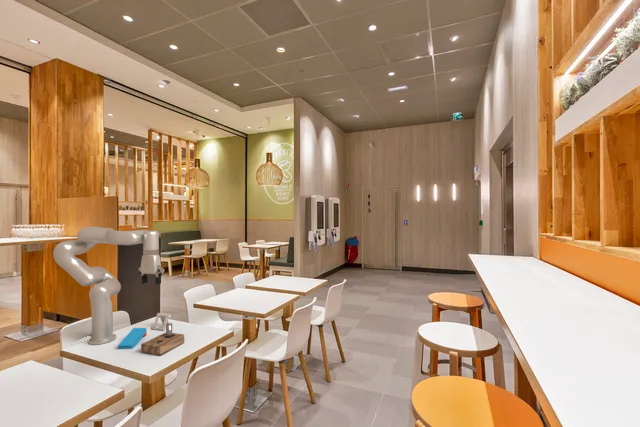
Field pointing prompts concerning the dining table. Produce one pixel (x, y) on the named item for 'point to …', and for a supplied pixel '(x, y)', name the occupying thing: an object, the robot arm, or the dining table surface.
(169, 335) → the pin
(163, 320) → the portable electronic device stand
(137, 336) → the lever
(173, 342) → the hole block
